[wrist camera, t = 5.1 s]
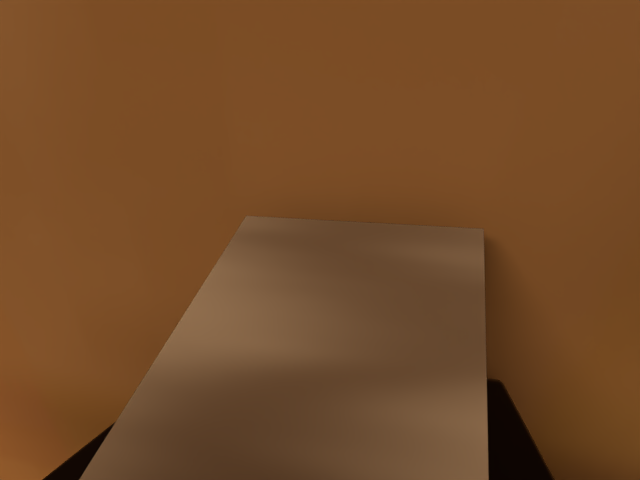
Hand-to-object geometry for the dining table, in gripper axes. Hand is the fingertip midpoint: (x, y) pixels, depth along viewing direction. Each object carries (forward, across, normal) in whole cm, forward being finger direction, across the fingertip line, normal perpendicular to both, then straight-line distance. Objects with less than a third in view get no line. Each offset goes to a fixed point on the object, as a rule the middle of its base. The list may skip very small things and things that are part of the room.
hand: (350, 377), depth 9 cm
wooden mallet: (+2, 0, +9) cm, 9 cm away
